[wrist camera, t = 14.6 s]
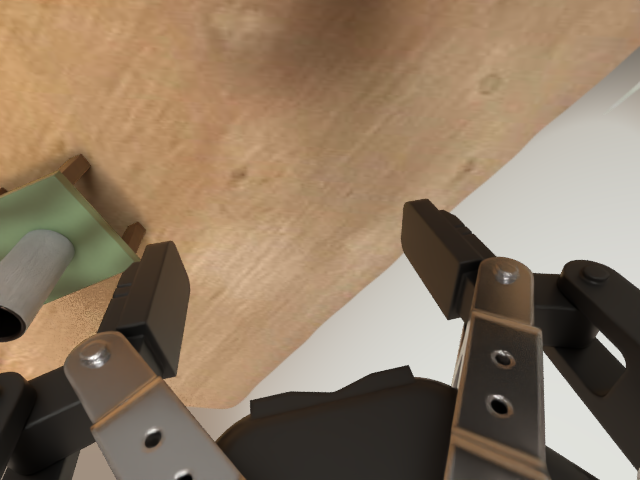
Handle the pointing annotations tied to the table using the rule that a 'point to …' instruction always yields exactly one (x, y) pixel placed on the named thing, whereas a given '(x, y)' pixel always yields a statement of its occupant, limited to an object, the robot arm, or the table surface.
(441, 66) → the table surface
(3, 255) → the plant stand
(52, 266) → the grey hollow tube
